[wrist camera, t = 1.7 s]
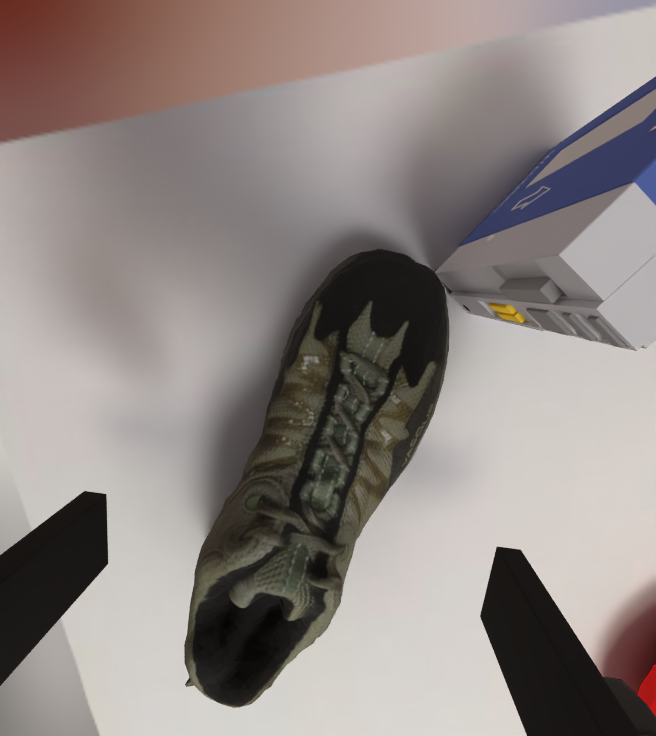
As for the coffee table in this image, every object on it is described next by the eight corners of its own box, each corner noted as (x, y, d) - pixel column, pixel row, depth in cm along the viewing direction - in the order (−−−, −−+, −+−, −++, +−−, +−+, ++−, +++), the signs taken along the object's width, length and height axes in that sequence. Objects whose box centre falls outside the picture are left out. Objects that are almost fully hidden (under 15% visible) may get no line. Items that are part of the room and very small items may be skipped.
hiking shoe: (486, 301, 19) (612, 314, 10) (321, 614, 23) (300, 822, 14) (333, 232, 18) (312, 179, 9) (198, 562, 23) (97, 739, 14)
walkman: (552, 146, 17) (991, -161, 5) (592, 189, 17) (1095, -11, 6) (427, 276, 19) (553, 262, 7) (466, 314, 19) (649, 361, 7)
